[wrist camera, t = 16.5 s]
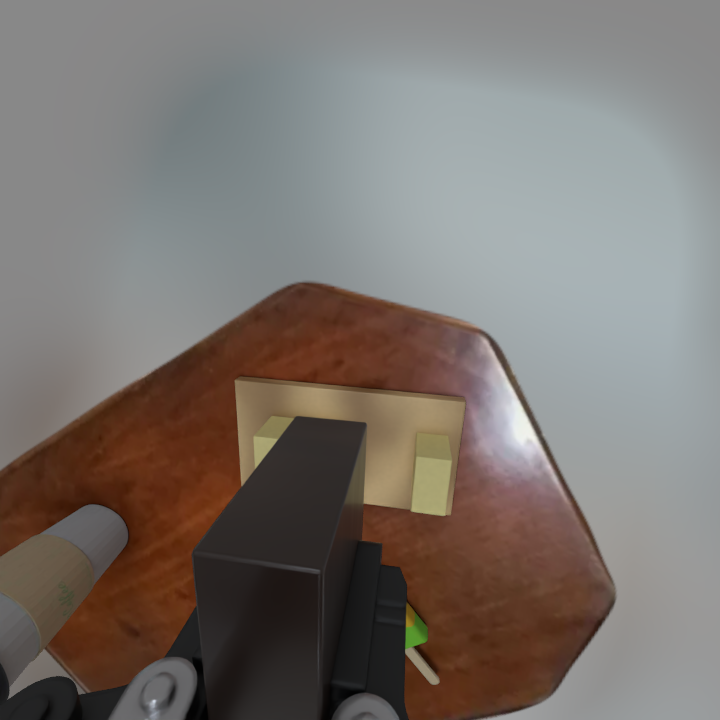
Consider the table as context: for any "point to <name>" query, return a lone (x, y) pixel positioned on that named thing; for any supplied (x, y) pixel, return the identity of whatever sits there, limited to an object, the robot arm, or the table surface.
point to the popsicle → (417, 643)
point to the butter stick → (269, 436)
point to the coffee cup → (52, 583)
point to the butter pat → (431, 474)
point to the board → (373, 406)
